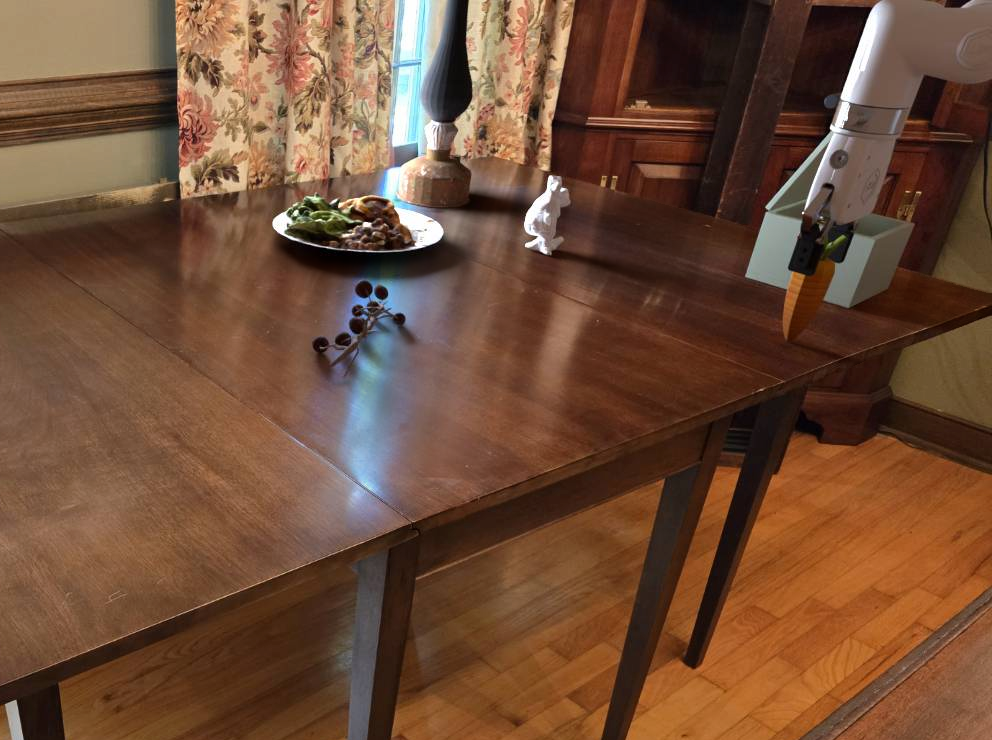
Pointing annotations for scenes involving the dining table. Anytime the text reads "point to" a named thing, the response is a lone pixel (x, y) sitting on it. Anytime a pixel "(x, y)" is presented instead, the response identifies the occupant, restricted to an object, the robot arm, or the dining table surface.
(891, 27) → the robot arm
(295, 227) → the plate of food
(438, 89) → the oil lamp
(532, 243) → the white kangaroo figurine
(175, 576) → the dining table surface
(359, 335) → the decorative branch
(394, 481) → the dining table surface
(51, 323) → the dining table surface
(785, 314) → the carrot
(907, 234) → the grey-green storage box
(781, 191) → the box lid
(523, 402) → the dining table surface
